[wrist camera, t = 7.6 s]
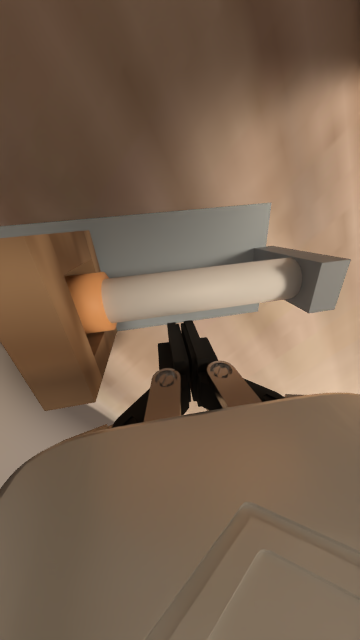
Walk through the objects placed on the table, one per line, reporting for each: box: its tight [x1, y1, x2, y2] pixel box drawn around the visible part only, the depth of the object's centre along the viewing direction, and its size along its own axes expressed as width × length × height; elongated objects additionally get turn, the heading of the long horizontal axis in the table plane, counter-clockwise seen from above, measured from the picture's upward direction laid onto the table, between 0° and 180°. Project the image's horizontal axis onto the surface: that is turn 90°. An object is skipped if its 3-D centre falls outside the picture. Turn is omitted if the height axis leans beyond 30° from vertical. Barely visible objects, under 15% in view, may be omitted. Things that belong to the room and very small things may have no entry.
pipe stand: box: [0, 203, 351, 334], centre depth 13 cm, size 9×21×8 cm, turn 95°
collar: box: [0, 230, 117, 411], centre depth 11 cm, size 8×2×7 cm, turn 5°
